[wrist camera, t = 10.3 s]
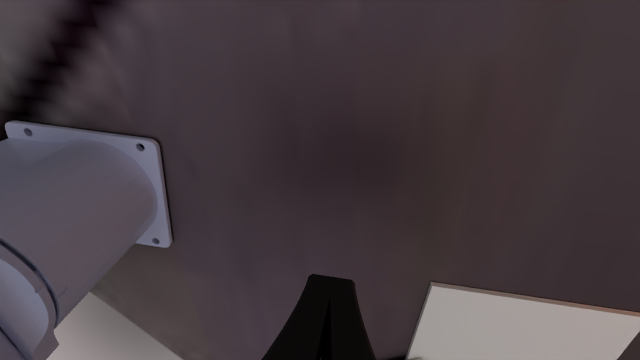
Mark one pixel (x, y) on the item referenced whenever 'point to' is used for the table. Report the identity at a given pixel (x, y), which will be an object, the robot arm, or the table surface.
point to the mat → (516, 327)
